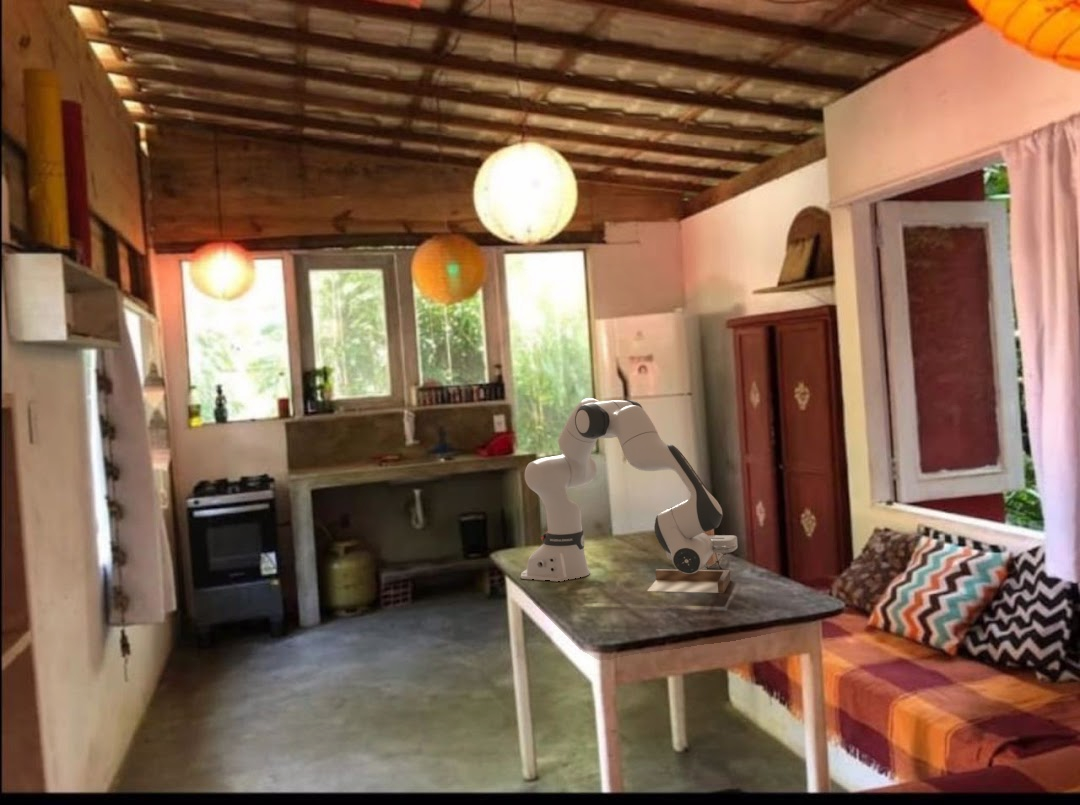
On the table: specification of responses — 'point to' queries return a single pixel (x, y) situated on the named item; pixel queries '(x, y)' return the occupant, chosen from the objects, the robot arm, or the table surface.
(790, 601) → the table surface
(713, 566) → the game die
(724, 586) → the board
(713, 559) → the terracotta block
